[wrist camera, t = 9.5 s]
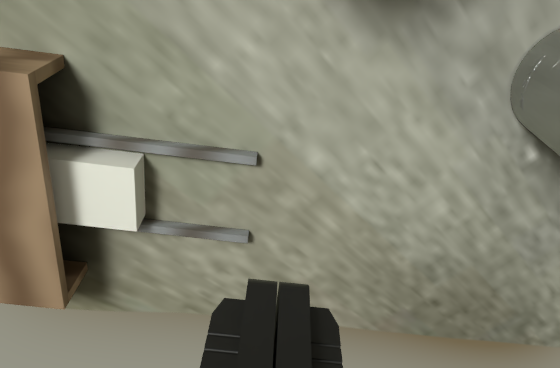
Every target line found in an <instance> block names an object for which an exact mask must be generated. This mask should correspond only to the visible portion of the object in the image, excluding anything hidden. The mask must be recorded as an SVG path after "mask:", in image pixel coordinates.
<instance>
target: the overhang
mask: <svg viewBox="0 0 560 368" xmlns="http://www.w3.org/2000/svg"><path fill="white" fill-rule="evenodd" d="M63 68H65V66H64V57H63V55H59V54H51V53H43V52H35V51H28V50H20V49H12V48H4V47H0V303H5V304H15V305H26V306H35V307H45V308H54V309H65V308H66V306H67V304H68V303H69V301H70V299H71V298H72V296H73V294H74V293H75V291H76V289H77V287H78V286H79V284H80V282H81V281H82V279H83V277H84V276H85V274H86V272H87V271H88V268H87V263H86V262H77V261H67V260H63V257H62V250H61V244H60V237H59V230H58V223H57V216H56V210H55V203H54V196H53V189H52V182H51V176H50V169H49V162H48V155H47V149H46V142H45V141H52V142H61V143H69V144H78V145H86V146H95V147H103V148H112V149H120V150H129V151H137V152H146V153H154V154H163V155H171V156H180V157H189V158H197V159H206V160H214V161H223V162H231V163H240V164H248V165H256V162H257V153H258V152H252V151H244V150H236V149H227V148H219V147H210V146H202V145H194V144H185V143H177V142H168V141H160V140H151V139H143V138H135V137H126V136H118V135H109V134H101V133H93V132H84V131H76V130H67V129H59V128H50V127H43V121H42V115H41V108H40V101H39V94H38V87H37V84H39V83H40V82H42V81H43V80H45V79H47V78H48V77H50V76H52V75H53V74H55V73H57V72H58V71H60V70H62V69H63ZM137 231H140V232H149V233H158V234H168V235H177V236H186V237H195V238H204V239H213V240H222V241H232V242H241V243H248V235H249V230H242V229H233V228H223V227H214V226H205V225H196V224H187V223H178V222H169V221H160V220H151V219H143V220H142V222H141V224H140V226H139V228H138V230H137Z"/></svg>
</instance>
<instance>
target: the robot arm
mask: <svg viewBox="0 0 560 368" xmlns="http://www.w3.org/2000/svg"><path fill="white" fill-rule="evenodd" d="M511 103H512V108H513V111H514V113H515V115H516V117H517V119H518V120H519V121H520V122H521V123H522V124H523V126H525V127H526V128H527V129H528V130H529V131H531V132H532V133H533V134H534V135H535V136H537V137H538V138H539V139H540V140H541V141H543V142H544V143H545V144H546V145H547V146H548V147H550V148H551V149H552V150H553V151H554V152H556V153H557V154H558V155H559V156H560V29H558V30H556V31H554V32H552V33H550V34H549V35H548V36H546V37H545V38H543V39H542V40H541V41H539V42H538V43H537V44H536V45H535V46H534V47H533V48H532V49H531V50H530V51H529V52H528V54H527V55H526V56H525V58H524V59H523V60H522V62H521V63H520V65H519V67H518V69H517V71H516V73H515V76H514V79H513V83H512V86H511ZM276 299H277V303H276ZM340 346H341V345H340V335H339V326H338V324H337V322H336V321H335V319H334V317H333V316H332V314H331V312H330V311H329V309H327V308H317V307H310V296H309V285H305V284H296V283H286V282H280V283H279V289H278V296H277V282H275V281H266V280H256V279H248V285H247V292H246V299H245V300H239V299H229V298H224V299H223V301H222V302H221V303H220V304H219V305H218V307H217V308H216V309H215V310H214V312H213V313H212V317H211V321H210V325H209V330H208V336H207V339H206V343H205V348H204V353H203V357H202V361H201V366H200V368H343V366H342V354H341V349H340Z"/></svg>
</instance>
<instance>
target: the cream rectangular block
mask: <svg viewBox="0 0 560 368" xmlns="http://www.w3.org/2000/svg"><path fill="white" fill-rule="evenodd" d="M46 149H47V155H48V162H49V169H50V176H51V182H52V189H53V196H54V203H55V210H56V216H57V223H64V224H73V225H82V226H91V227H100V228H109V229H118V230H127V231H136V232H137V230H138V228H139V226H140V224H141V222H142V220H143V218H144V216H145V214H146V210H145V176H144V154H142V153H134V152H125V151H117V150H108V149H100V148H91V147H83V146H74V145H66V144H57V143H49V142H46Z"/></svg>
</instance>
